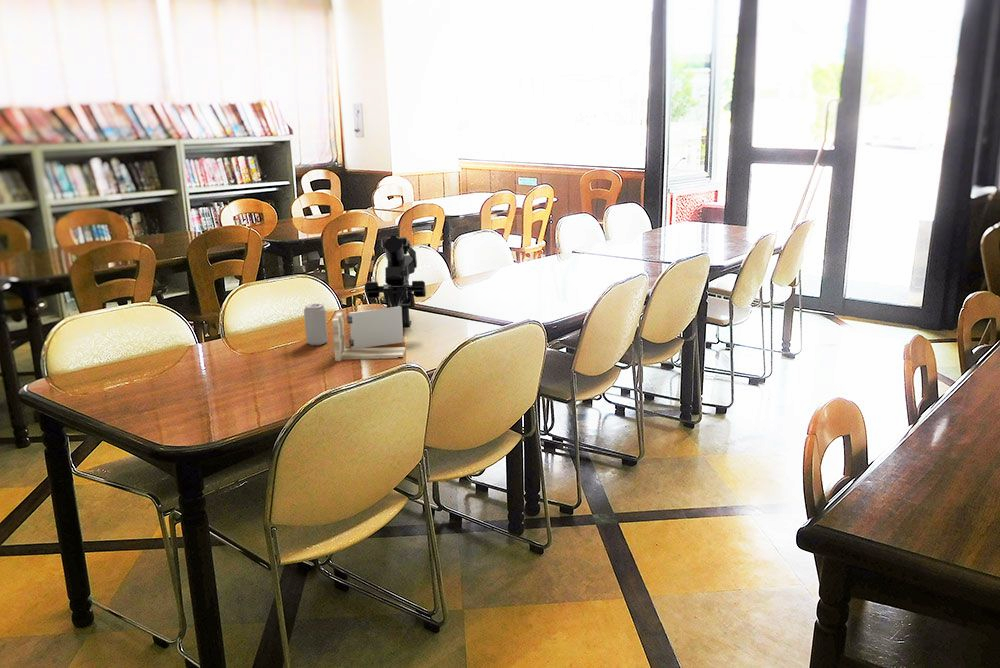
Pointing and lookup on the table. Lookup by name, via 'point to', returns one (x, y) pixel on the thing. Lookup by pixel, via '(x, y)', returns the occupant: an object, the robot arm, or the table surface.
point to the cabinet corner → (358, 352)
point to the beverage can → (315, 324)
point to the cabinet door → (375, 327)
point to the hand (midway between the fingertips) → (394, 312)
